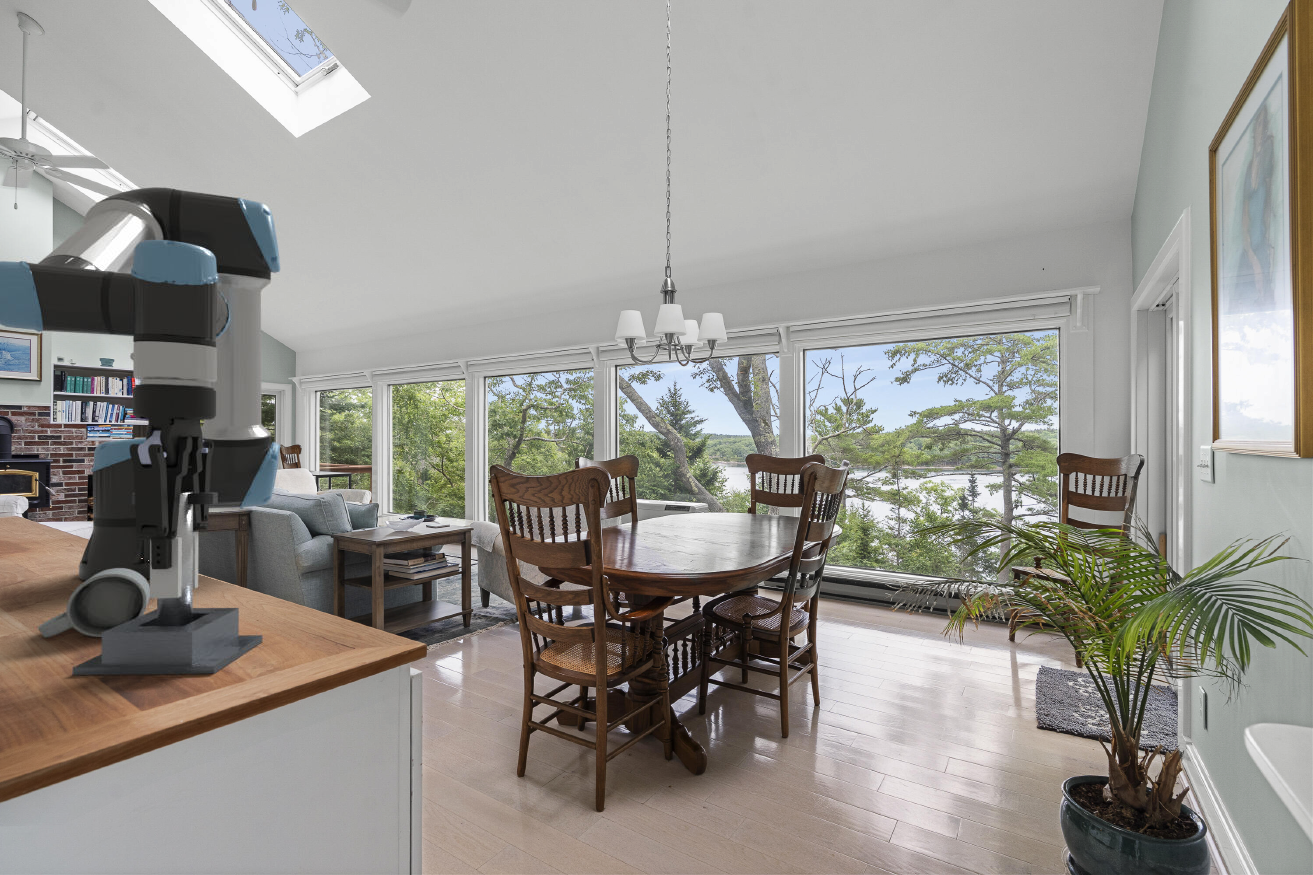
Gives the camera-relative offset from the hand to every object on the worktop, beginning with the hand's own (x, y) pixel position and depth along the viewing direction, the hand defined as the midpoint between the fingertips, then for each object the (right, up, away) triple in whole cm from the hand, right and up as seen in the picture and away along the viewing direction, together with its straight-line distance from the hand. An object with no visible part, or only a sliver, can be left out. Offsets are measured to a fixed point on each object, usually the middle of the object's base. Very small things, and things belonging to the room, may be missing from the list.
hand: (174, 592), depth 73 cm
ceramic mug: (-16, -7, +9) cm, 20 cm away
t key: (0, -4, 0) cm, 4 cm away
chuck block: (0, -7, 0) cm, 7 cm away
